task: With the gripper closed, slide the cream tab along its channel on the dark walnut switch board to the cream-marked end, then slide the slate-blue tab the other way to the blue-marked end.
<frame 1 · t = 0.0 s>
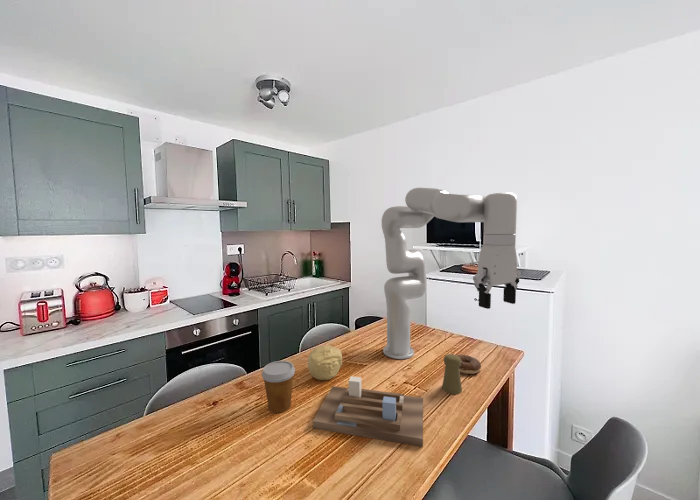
hand: (497, 305, 78), 31 cm above the table, tool pointing down, fingers open, 9 cm apart
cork: (451, 389, 94), on the table
disposable coffee cup: (279, 407, 86), on the table
sculpture: (324, 375, 104), on the table
slate-blue tab: (389, 410, 76), point 5 cm above the table, slide at 11.0 cm
switch board: (371, 415, 81), on the table
donut: (465, 369, 107), on the table
cream tab: (355, 388, 86), point 5 cm above the table, slide at 0.0 cm
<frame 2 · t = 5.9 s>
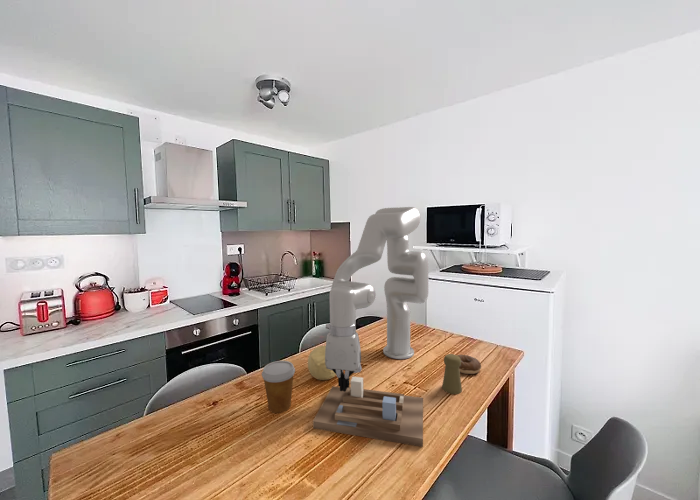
hand: (344, 388, 87), 4 cm above the table, tool pointing down, fingers closed
cream tab: (357, 388, 86), point 5 cm above the table, slide at 0.6 cm, touching gripper
everything else where it was.
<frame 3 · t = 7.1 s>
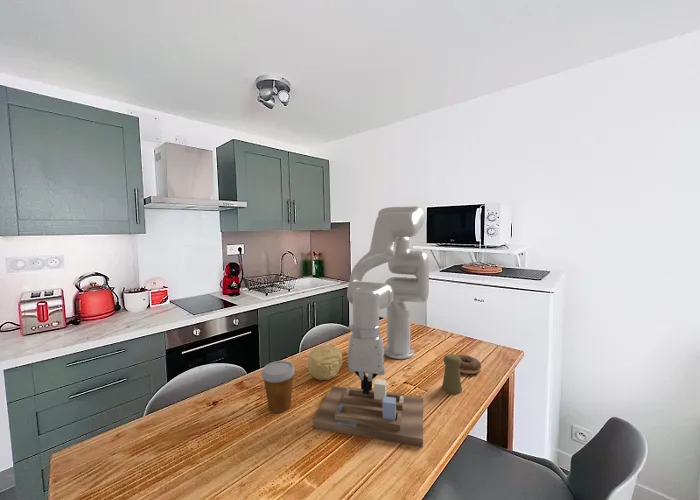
hand: (366, 391, 85), 4 cm above the table, tool pointing down, fingers closed
cream tab: (380, 391, 84), point 5 cm above the table, slide at 7.5 cm, touching gripper
everything else where it was.
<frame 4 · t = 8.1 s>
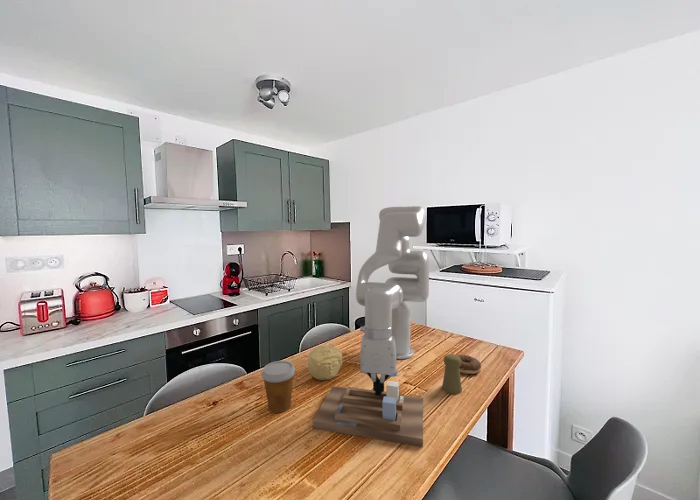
hand: (378, 393, 84), 4 cm above the table, tool pointing down, fingers closed
cream tab: (392, 392, 83), point 5 cm above the table, slide at 11.0 cm, touching gripper
everything else where it was.
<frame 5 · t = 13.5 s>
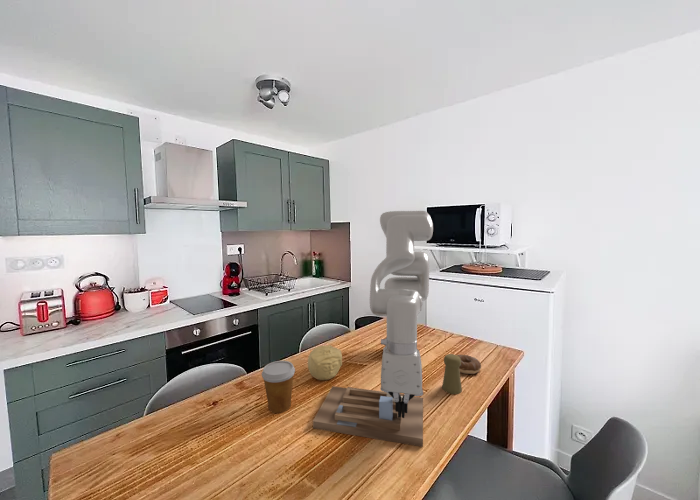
hand: (401, 414, 75), 4 cm above the table, tool pointing down, fingers closed
slate-blue tab: (386, 409, 76), point 5 cm above the table, slide at 10.1 cm, touching gripper
cream tab: (392, 392, 83), point 5 cm above the table, slide at 11.0 cm
everything else where it was.
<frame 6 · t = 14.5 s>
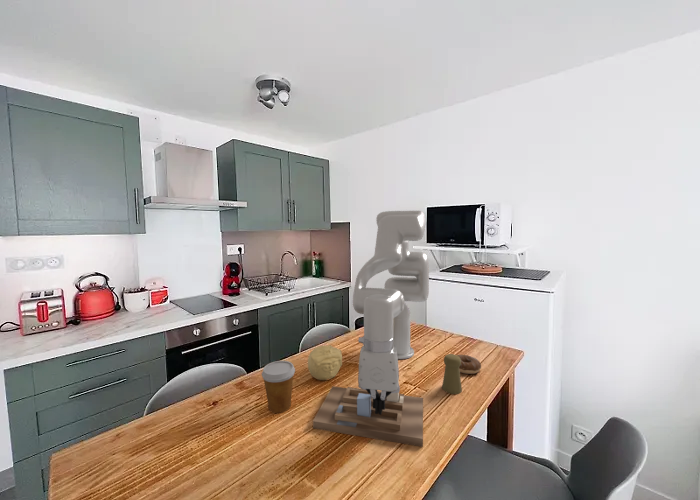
hand: (379, 410, 76), 4 cm above the table, tool pointing down, fingers closed
slate-blue tab: (364, 406, 77), point 5 cm above the table, slide at 4.3 cm, touching gripper
everything else where it was.
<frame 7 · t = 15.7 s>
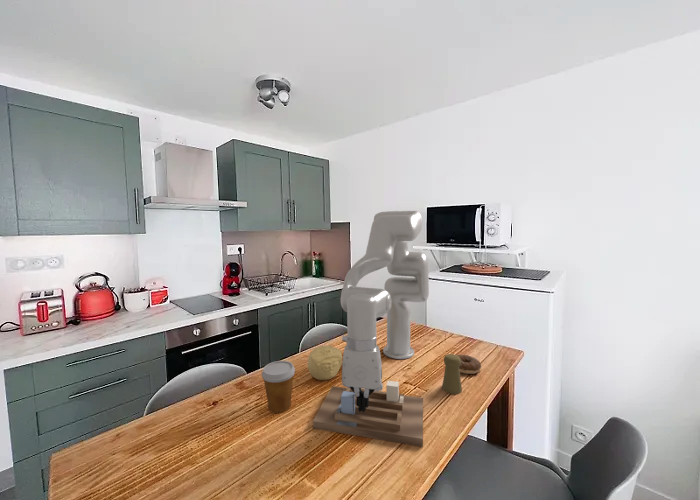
hand: (362, 408, 77), 4 cm above the table, tool pointing down, fingers closed
slate-blue tab: (348, 404, 78), point 5 cm above the table, slide at 0.0 cm, touching gripper
everything else where it was.
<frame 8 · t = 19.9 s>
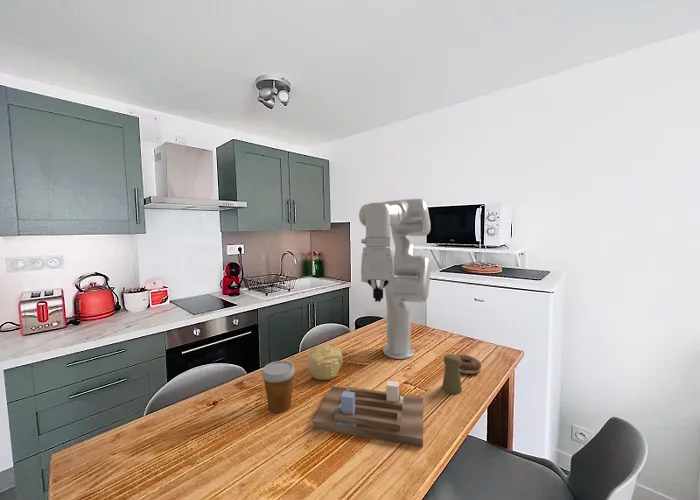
hand: (378, 300, 92), 29 cm above the table, tool pointing down, fingers closed
slate-blue tab: (348, 404, 78), point 5 cm above the table, slide at 0.0 cm
everything else where it was.
at the end: cream tab slide at 11.0 cm; slate-blue tab slide at 0.0 cm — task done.
